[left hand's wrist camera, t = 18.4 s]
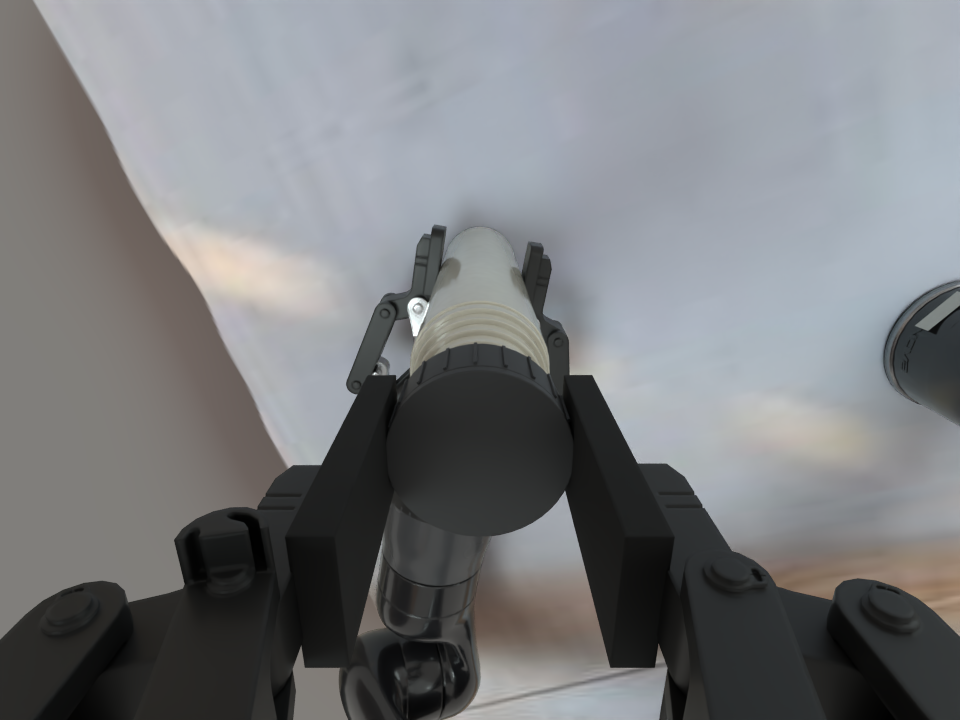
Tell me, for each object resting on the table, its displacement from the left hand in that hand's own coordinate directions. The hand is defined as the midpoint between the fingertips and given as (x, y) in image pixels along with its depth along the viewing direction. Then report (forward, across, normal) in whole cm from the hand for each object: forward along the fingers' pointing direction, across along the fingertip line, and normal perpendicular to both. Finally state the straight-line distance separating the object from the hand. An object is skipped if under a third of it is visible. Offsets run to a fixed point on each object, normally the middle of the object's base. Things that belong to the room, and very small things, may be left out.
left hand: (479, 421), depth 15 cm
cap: (-2, 0, 0) cm, 2 cm away
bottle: (+24, 0, 0) cm, 24 cm away
